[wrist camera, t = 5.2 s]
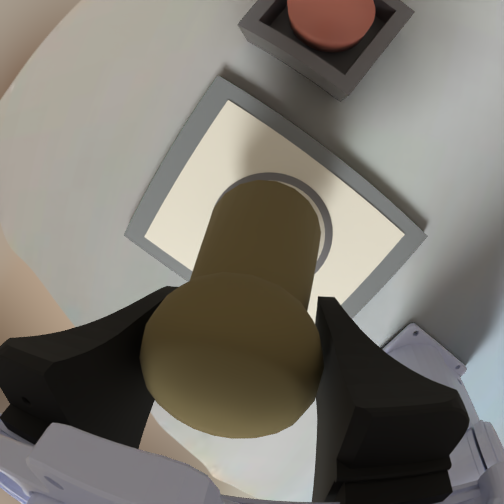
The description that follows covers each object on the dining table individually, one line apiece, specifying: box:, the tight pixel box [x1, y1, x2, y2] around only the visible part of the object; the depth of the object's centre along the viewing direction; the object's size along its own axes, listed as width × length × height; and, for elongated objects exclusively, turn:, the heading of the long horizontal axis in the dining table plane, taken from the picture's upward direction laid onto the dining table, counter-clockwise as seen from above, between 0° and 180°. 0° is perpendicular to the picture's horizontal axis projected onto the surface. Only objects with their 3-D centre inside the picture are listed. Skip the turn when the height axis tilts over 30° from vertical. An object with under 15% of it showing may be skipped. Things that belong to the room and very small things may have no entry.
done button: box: [287, 0, 375, 53], centre depth 13 cm, size 4×4×2 cm
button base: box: [238, 0, 414, 101], centre depth 14 cm, size 7×7×4 cm
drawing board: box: [124, 76, 428, 323], centre depth 21 cm, size 17×13×1 cm
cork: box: [139, 180, 324, 438], centre depth 12 cm, size 6×6×11 cm
